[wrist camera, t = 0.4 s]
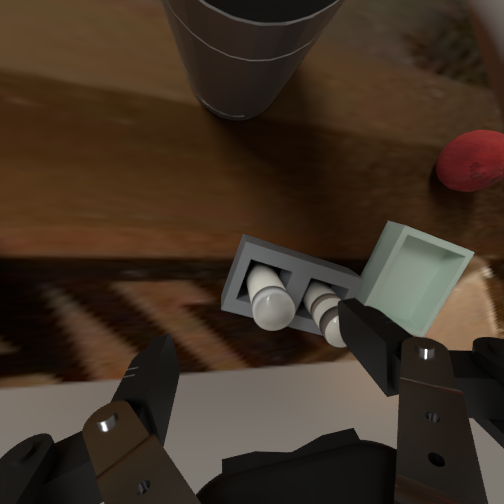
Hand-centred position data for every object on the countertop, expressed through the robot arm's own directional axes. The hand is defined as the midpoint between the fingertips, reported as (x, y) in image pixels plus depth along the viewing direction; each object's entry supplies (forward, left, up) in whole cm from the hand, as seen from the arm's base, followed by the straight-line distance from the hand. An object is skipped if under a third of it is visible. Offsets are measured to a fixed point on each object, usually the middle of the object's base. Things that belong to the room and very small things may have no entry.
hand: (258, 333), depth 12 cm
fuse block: (+3, +7, -18) cm, 20 cm away
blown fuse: (+3, +11, -18) cm, 21 cm away
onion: (-16, +19, -18) cm, 31 cm away
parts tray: (-2, +21, -18) cm, 28 cm away
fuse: (+3, +4, -18) cm, 19 cm away
